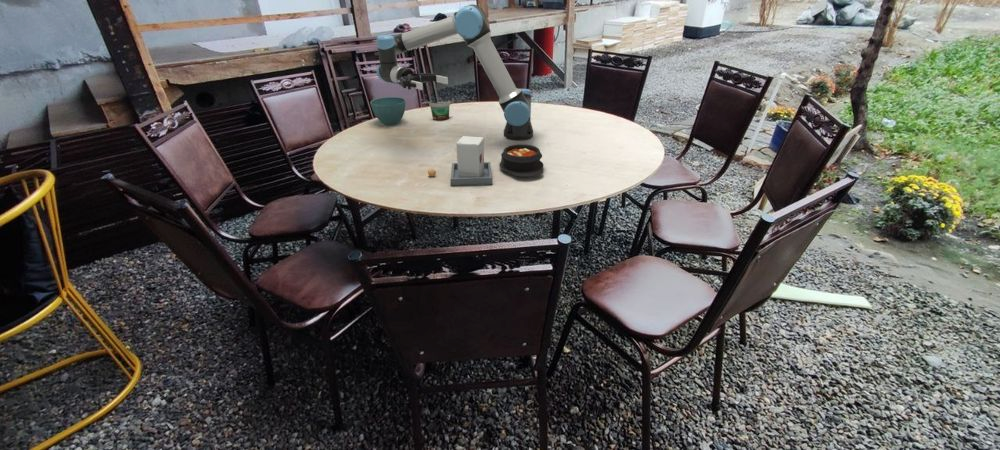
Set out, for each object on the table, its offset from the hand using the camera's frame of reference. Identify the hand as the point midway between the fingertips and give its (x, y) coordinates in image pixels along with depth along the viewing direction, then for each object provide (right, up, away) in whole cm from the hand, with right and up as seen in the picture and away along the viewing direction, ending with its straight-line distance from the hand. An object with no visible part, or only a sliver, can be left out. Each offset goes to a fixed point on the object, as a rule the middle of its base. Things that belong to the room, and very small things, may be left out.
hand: (435, 83), depth 172 cm
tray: (+15, -39, -2) cm, 42 cm away
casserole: (+36, -35, +5) cm, 50 cm away
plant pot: (-33, -2, +59) cm, 68 cm away
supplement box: (+15, -38, -2) cm, 41 cm away
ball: (-1, -38, -1) cm, 38 cm away
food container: (-6, +1, +65) cm, 65 cm away
